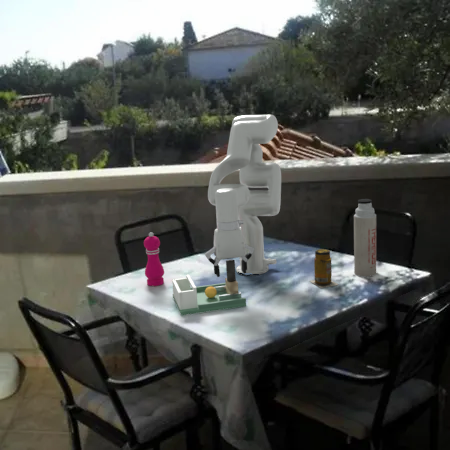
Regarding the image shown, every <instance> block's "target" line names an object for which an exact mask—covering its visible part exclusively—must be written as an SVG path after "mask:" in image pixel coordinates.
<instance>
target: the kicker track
mask: <svg viewBox="0 0 450 450" xmlns="http://www.w3.org/2000/svg"><path fill="white" fill-rule="evenodd" d="M214 288H215V289H216V291H217V293H219V292H226V285H225V286H218V287H214ZM241 297H242V292H241V291H239V292H238V293H233V294H226V295H219V301H224V300H231V299H238V298H241Z"/></svg>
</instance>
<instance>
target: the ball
mask: <svg viewBox="0 0 450 450" xmlns="http://www.w3.org/2000/svg"><path fill="white" fill-rule="evenodd" d="M216 294H217V291H216V289H215V288H214V287H211V286H210V287H208V288H206V290H205V295H206V296H207V297H208V298H214V297H215V296H216Z"/></svg>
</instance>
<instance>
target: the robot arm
mask: <svg viewBox="0 0 450 450" xmlns="http://www.w3.org/2000/svg"><path fill="white" fill-rule="evenodd" d="M278 129H279V122H278V120H277V118H276V116H275V115H274V114H270V113H269V114H245V115H238V116H236V117H234V118H233V119H232V122H231V127H230V132H229V139H228V145H227V152H226V157H225V158H224V159H223V160H221V162H219V163H218V164H217V165H216V166H215V168H214V169H213V170H212V172H211V175H210V178H209V183H208V189H207V199H208V201H209V203H210V204H211V205H212V206H215V214H216V228H215V229H214V231H213V232H214V233H213V234H214V235H213V247H212V248H210V249H209V250H208V251H206V252H205V253H204V256H205V257H206V258H207V260H208V262H210V263H211V264H212V265H213V272H214V275H216V277H217V278H220V276H221V275H220V274H221V273H220V265H219V263H220V262H221V260H232V259H236V258H239V265H238V266H237V267H235V272H237V273H238V272H239V273H244V274H245V273H252V274H259V275H262V274H265V273H267V272H269V266H270V265H277V263H278V262H277V259H276V258H274V259H273V258H271V257H270V258H266V257H265V249H264V227H263V224H262V222H261V221H260V219H259V218H258V217H272V216H273V217H274V216H277V215H278V214H279V212H280V209H281V201H282V199H281V198H282V197H281V194H282V170H281V167H280V166H279V164H278V163H276V162H270V161H269V162H266V161H265V162H263V154H264V153H263V151H264V150H263V149H262V147H261V146H260V145H262V144H263V145H265V144H268V143H270V142H271V140H273V139H274V138H275V136H276V134H277V133H278ZM236 171H239V183H221V182H222V181H223V179H224V178H225V177H227V176H228V175H230V174H233V173H235V172H236ZM249 188H252V189H253V188H255V189H256V188H260V189H263V188H267V189H268V190H250V189H249ZM211 255H214V256H215V257H214V258H213V257H211ZM239 273H238V274H239Z"/></svg>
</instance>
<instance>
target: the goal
mask: <svg viewBox="0 0 450 450" xmlns="http://www.w3.org/2000/svg"><path fill="white" fill-rule="evenodd" d="M171 281H172V283H171V284H172V292H173V293H172V297H173V296H174V298H175V300H176V302H177V305H178V307H179V309H180V310H183V309H190V308H197V307H198V303H197V289H196V287H197V286H196V285H195V282H194V281H193V279H192V277H191V275H190V274H186V275H185V277H182V278H174V279H172V280H171ZM190 287H192V289H193V290H190ZM174 298H173V299H174ZM177 305H176V306H177ZM178 307H177V308H178Z"/></svg>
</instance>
